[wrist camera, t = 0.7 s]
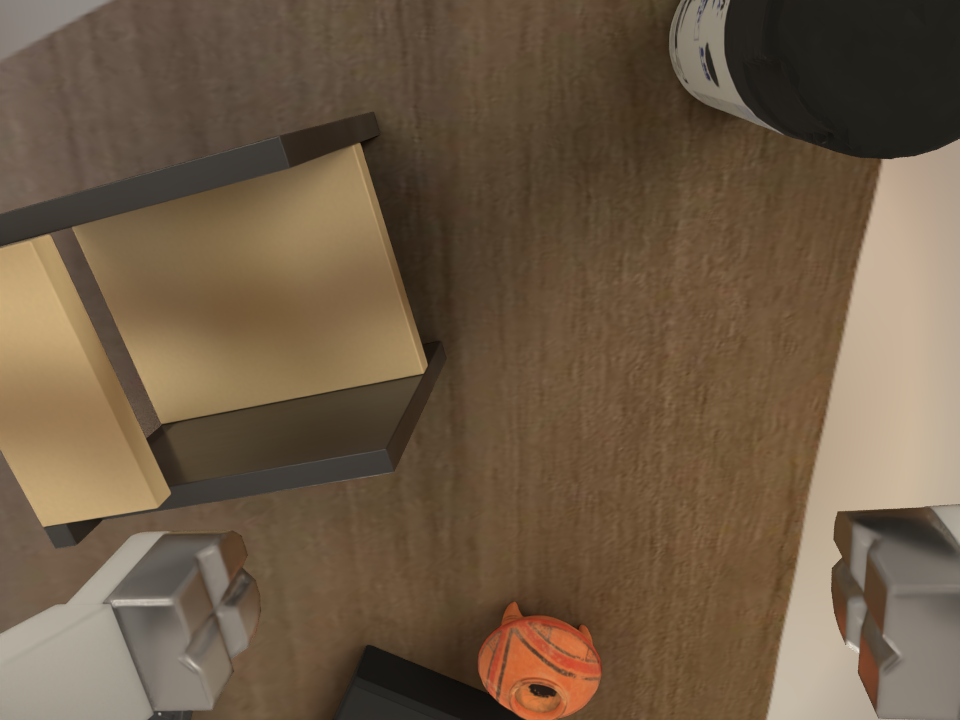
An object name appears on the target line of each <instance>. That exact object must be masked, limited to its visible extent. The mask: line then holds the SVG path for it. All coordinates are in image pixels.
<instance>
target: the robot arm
mask: <svg viewBox="0 0 960 720" xmlns="http://www.w3.org/2000/svg"><path fill="white" fill-rule="evenodd" d="M834 541H835V543H836V545H837V547H838V549H839V551H840V553H841V555H842V558H841V559H840V560H839V561H838V562H837V563H836V564H835V565H834V567H833V568H832V583H831V586H832V587H831V592H832V599H833V607H834V614H835V617H836V620H837V624H838V627H839V630H840V633H841V635H842V637H843V640H844V642H845V645H847V646H848V647H850V648H851V649H853V650H854V651H856V652H857V653H858V654H859V665H858V674H859V676H860V679H861V681H862V683H863V685H864V687H865V690H866V692H867V694H868V696H869V699H870V701H871V703H872V705H873V707H874V710H875V712H876V714H877V716H878V718H882V719H908V720H960V504H958V505H957V504H956V505H940V506H926V507H922V508H900V509H879V510H858V511H839V512H838V513H837V516H836V520H835V526H834ZM247 556H248V553H247V550H246V547H245V545H244V542H243V539H242V536H241V535H239V534H238V533H236V532H234V531H172V532H168V531H159V532H141V533H138V534H134V535H132V536H131V537H130V538H129V539H128V540H127V541H126V542H125V543H124V544H123V545H122V546H121V547H120V548H119V549H118V550H117V551H116V552H115V553H114V554H113V555H112V556H111V558H110V559H109V560H108V561H107V562H106V563H105V564H104V565H103V566H102V567H101V568H100V569H99V570H98V571H97V572H96V573H95V574H94V575H93V576H92V577H91V578H90V580H89V581H88V582H87V583H86V584H85V585H84V586H83V587H82V588H81V589H80V590H79V591H78V592H77V593H76V594H75V595H74V596H73V597H72V598H71V599H70V600H69V602H68V603H67V604H61V605H54V606H52V607H50V608H48V609H47V610H45V611H43V612H41V613H39V614H37V615H35V616H33V617H31V618H29V619H27V620H26V621H24V622H22V623H20V624H18V625H16V626H14V627H12V628H10V629H8V630H6V631H4V632H3V633H1V634H0V720H148V719H149V718H150V717H151V716H152V715H153V714H154V713H153V711H186V710H212V709H213V707H214V705H215V704H216V702H217V700H218V698H219V697H220V695H221V693H222V691H223V690H224V688H225V686H226V684H227V683H228V681H229V679H230V678H231V676H232V674H233V672H234V669H233V665H232V662H231V659H232V658H233V657H234V656H236V655H237V654H239V653H240V652H241V651H243V650H244V649H246V648H247V647H248V646H249V644H250V642H251V640H252V638H253V637H254V635H255V633H256V631H257V626H258V621H259V617H260V612H261V607H260V593H259V590H258V586H257V583H256V580H255V579H254V578H253V577H252V576H251V575H250V574H248V573H247V572H246V571H245V570H244V569H243V568H242V567H243V565H244V562H245V560H246V558H247Z"/></svg>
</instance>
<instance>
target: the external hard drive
mask: <svg viewBox="0 0 960 720" xmlns="http://www.w3.org/2000/svg"><path fill="white" fill-rule="evenodd" d="M333 720H526V719H523V718H521V717H519V716H518V715H517V714H515V713H514V712H513V711H511V710H509V709H508V708H506V707H504V706H503V705H502V704H500V703H499V702H498V701H496V699H495V698H494V697H493V696H492V695H490V694H487V693H485V692H483V691H480V690H478V689H475V688H473V687H470V686H468V685H466V684H463V683H461V682H458V681H456V680H453V679H451V678H449V677H446V676H444V675H441V674H439V673H436V672H434V671H432V670H429V669H427V668H424V667H422V666H419V665H417V664H415V663H412V662H410V661H407V660H405V659H403V658H400V657H398V656H395V655H393V654H390V653H388V652H386V651H383V650H381V649H378V648H376V647H373V646H371V645H367V646H366V648H365V650H364V652H363V654H362V657H361V659H360V661H359V663H358V665H357V668H356V670H355V672H354V674H353V676H352V679H351V681H350V683H349V685H348V688H347V690H346V692H345V694H344V696H343V699H342V701H341V703H340V705H339V707H338V710H337V712H336V714H335V716H334V718H333Z"/></svg>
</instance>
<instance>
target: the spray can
mask: <svg viewBox="0 0 960 720" xmlns="http://www.w3.org/2000/svg"><path fill="white" fill-rule="evenodd" d="M669 54H670V57H671V61H672V65H673V68H674V71H675V73H676V75H677V77H678V79H679V80H680V82H681V83H682V85H683V86H684V88H685V89H686V90H687V91H688V92H689V93H690V94H691V95H693V96H694V97H695V98H697V99H698V100H700V101H701V102H703V103H705V104H707V105H709V106H711V107H713V108H716V109H719V110H722V111H725V112H727V113H730V114H732V115H735V116H737V117H740V118H743V119H745V120H748V121H750V122H753V123H755V124H758V125H761V126H763V127H766V128H768V129H771V130H774V131H775V132H777V133H780V134H784V135H787V136H789V137H792V138H796V139H800V140H803V141H806V142H809V143H812V144H815V145H818V146H821V147H824V148H827V149H830V150H833V151H836V152H840V153H843V154H847V155H850V156H855V157H860V158H878V159H893V158H899V157H910V156H916V155H919V154H923V153H926V152H930V151H933V150H937V149H939V148H941V147H943V146H946V145H948V144H950V143H952V142H954V141H956V140H958V139H960V0H681V2H680V3H679V5H678V8H677V10H676V12H675V15H674V18H673V21H672V24H671V29H670V37H669Z"/></svg>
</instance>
